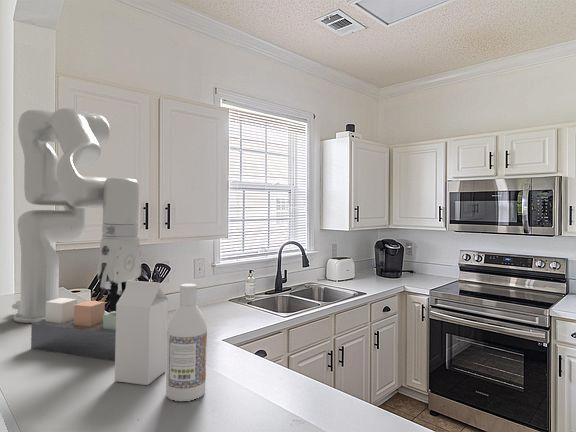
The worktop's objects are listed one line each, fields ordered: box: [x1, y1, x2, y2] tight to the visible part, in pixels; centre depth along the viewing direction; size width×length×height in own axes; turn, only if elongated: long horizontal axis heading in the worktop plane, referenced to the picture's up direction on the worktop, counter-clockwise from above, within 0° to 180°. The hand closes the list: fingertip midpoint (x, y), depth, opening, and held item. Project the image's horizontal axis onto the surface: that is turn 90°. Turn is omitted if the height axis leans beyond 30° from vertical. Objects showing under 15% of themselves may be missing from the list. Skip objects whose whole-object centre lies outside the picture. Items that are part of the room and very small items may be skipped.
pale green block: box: [103, 311, 116, 330], centre depth 92 cm, size 5×5×6 cm
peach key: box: [74, 300, 106, 327], centre depth 94 cm, size 5×5×6 cm
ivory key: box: [46, 297, 78, 323], centre depth 96 cm, size 5×5×6 cm
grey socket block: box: [30, 319, 116, 362], centre depth 94 cm, size 23×10×6 cm, turn 76°
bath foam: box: [165, 283, 208, 402], centre depth 72 cm, size 7×7×20 cm
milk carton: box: [114, 280, 169, 386], centre depth 79 cm, size 7×7×19 cm
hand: (117, 310), depth 92 cm, fingers closed
